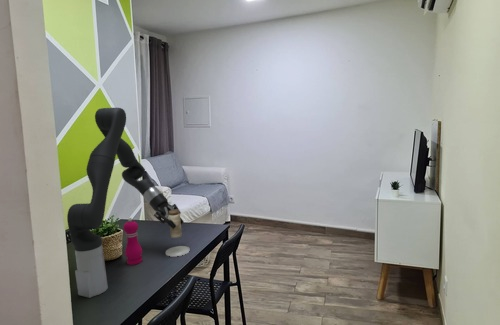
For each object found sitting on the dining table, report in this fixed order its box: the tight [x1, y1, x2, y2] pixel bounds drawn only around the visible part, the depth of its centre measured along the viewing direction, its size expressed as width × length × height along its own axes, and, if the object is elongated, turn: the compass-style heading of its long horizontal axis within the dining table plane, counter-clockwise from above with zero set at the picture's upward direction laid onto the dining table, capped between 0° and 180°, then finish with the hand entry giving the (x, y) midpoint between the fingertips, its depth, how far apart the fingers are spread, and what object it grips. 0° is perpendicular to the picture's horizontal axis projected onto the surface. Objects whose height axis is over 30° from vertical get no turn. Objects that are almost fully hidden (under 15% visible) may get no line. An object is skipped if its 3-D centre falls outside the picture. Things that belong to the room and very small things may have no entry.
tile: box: [165, 245, 191, 258], centre depth 163 cm, size 11×11×1 cm
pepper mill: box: [123, 217, 143, 266], centre depth 153 cm, size 7×7×20 cm
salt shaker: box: [169, 208, 183, 239], centre depth 161 cm, size 5×5×12 cm
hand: (178, 225), depth 160 cm, fingers closed on salt shaker, 5 cm apart
